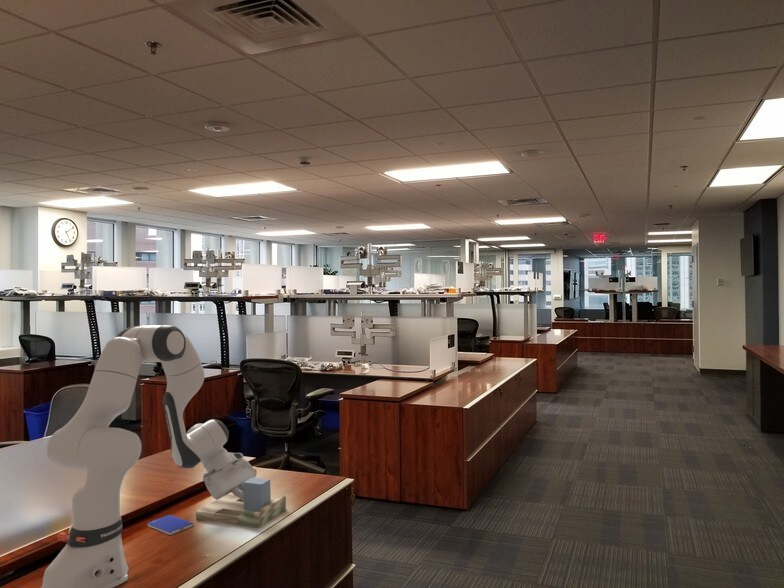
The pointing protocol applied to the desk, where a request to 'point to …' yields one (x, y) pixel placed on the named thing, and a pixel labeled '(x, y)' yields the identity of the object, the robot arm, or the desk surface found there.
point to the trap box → (240, 511)
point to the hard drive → (170, 524)
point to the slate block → (256, 493)
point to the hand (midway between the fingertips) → (246, 498)
